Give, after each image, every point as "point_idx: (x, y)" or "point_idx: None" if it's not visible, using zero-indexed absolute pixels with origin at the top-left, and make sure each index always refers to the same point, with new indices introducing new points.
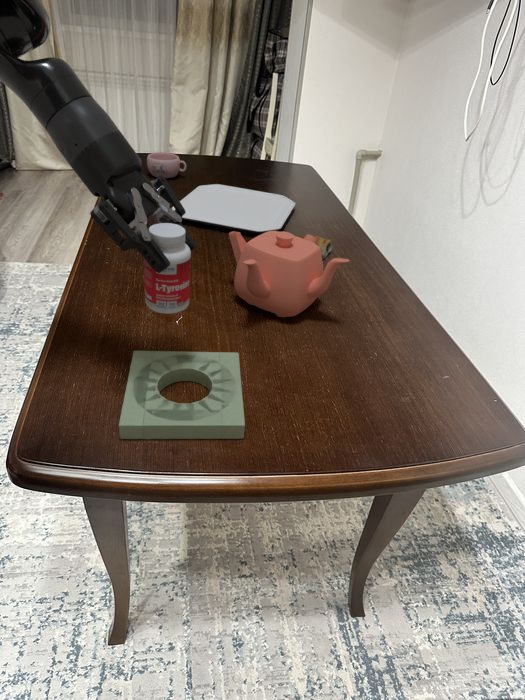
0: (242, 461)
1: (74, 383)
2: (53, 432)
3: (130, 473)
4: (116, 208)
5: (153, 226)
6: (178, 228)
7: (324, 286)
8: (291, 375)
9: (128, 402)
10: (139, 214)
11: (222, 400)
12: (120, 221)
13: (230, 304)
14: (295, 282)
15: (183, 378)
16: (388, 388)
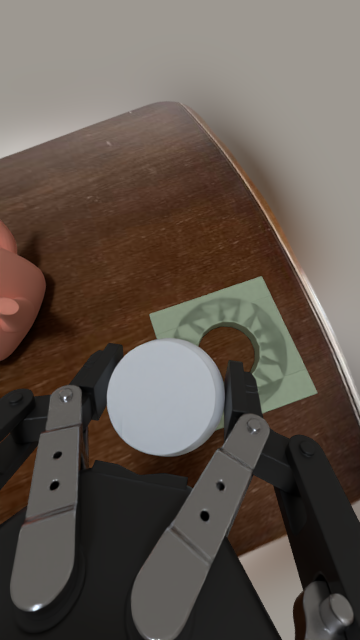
0: (282, 277)
1: (251, 491)
2: None
3: (340, 363)
4: (334, 605)
5: (156, 444)
6: (136, 367)
7: (6, 226)
8: (151, 264)
9: (281, 399)
10: (237, 485)
11: (236, 305)
12: (344, 530)
13: (24, 365)
14: (12, 257)
15: None
16: (141, 183)
